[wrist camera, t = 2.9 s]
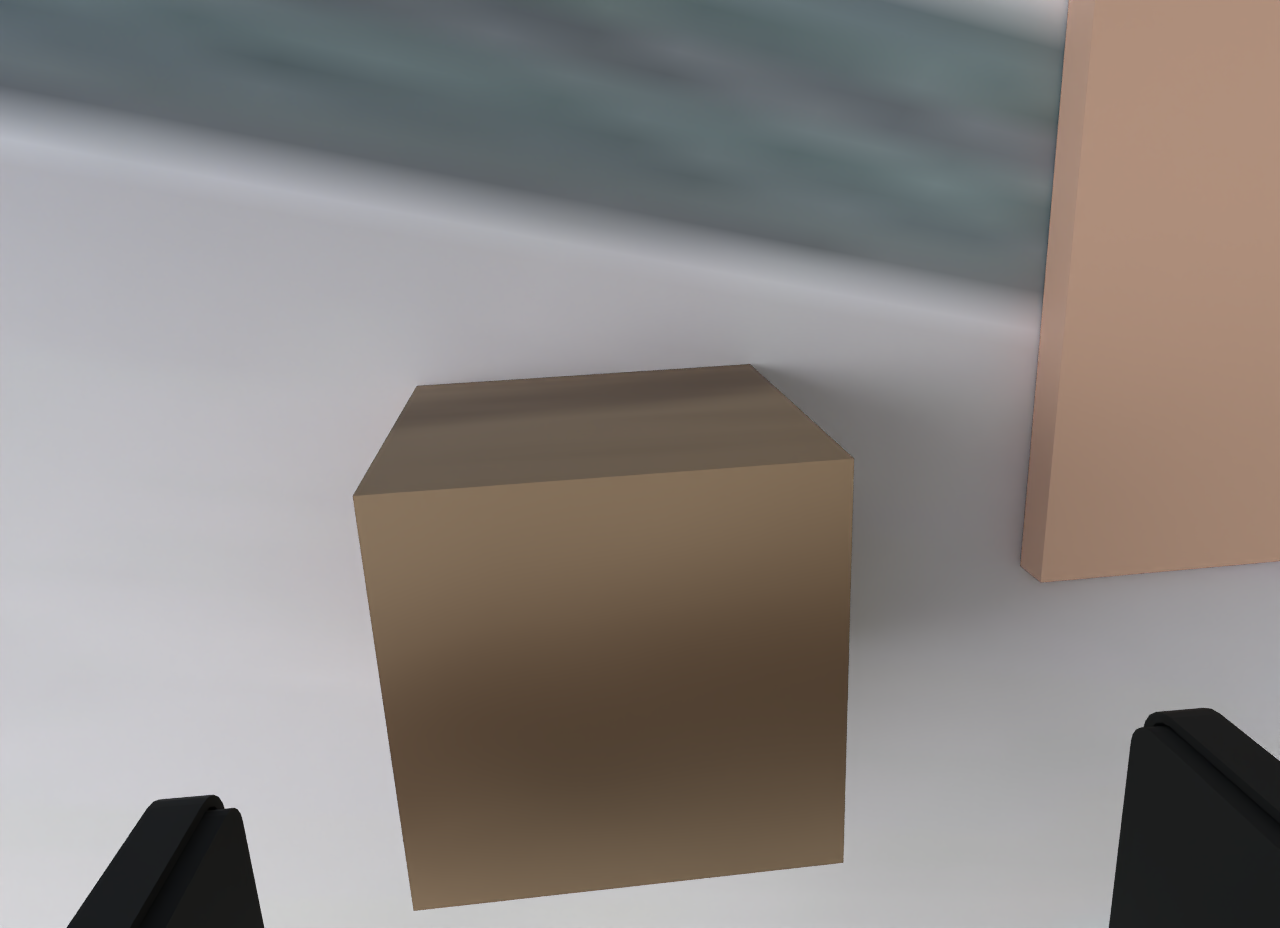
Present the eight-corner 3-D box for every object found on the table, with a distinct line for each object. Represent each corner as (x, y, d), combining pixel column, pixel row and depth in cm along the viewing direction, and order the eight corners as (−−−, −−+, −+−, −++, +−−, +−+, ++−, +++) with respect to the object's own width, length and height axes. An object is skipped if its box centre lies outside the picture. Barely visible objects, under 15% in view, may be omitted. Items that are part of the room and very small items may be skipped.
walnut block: (417, 384, 17) (352, 496, 11) (748, 363, 17) (853, 458, 11) (452, 682, 18) (413, 911, 13) (751, 654, 19) (843, 862, 13)
